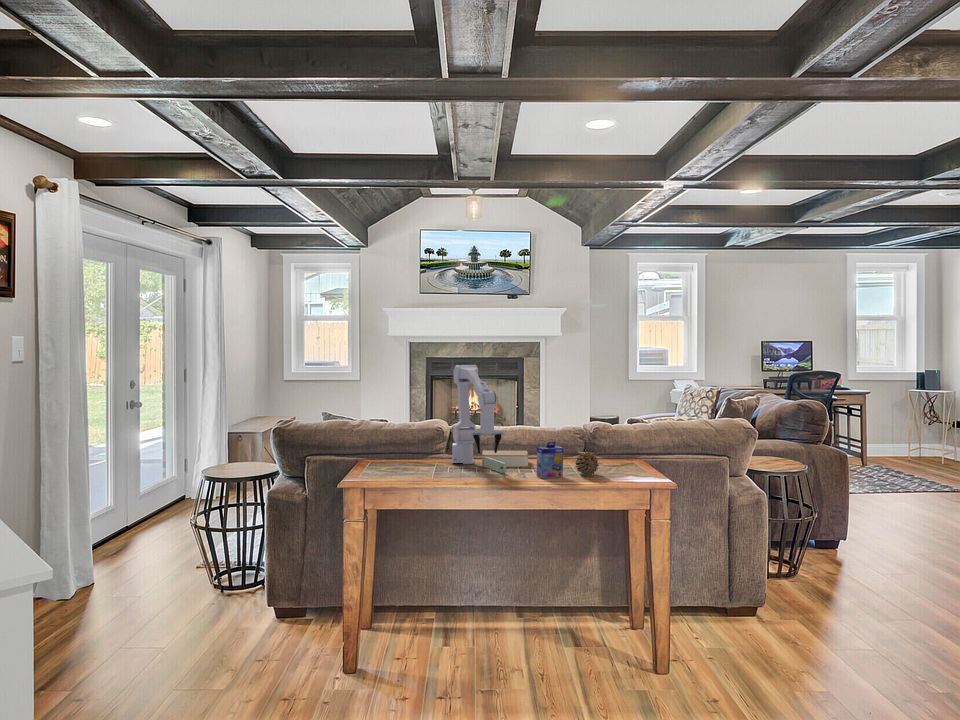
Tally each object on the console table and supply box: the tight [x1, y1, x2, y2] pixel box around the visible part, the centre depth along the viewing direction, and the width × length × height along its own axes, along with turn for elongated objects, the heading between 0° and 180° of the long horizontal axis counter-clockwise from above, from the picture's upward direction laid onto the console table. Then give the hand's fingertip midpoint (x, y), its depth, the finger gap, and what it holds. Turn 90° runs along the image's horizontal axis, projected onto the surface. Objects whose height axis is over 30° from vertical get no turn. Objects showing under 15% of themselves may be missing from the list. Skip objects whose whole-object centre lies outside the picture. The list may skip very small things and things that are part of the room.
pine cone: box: [574, 451, 600, 476], centre depth 274 cm, size 22×10×10 cm, turn 2°
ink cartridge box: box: [536, 441, 564, 480], centre depth 267 cm, size 10×6×14 cm, turn 113°
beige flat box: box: [481, 449, 529, 468], centre depth 295 cm, size 20×12×5 cm, turn 88°
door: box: [482, 457, 507, 474], centre depth 281 cm, size 18×2×4 cm, turn 28°
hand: (487, 452), depth 276 cm, fingers open, 6 cm apart
